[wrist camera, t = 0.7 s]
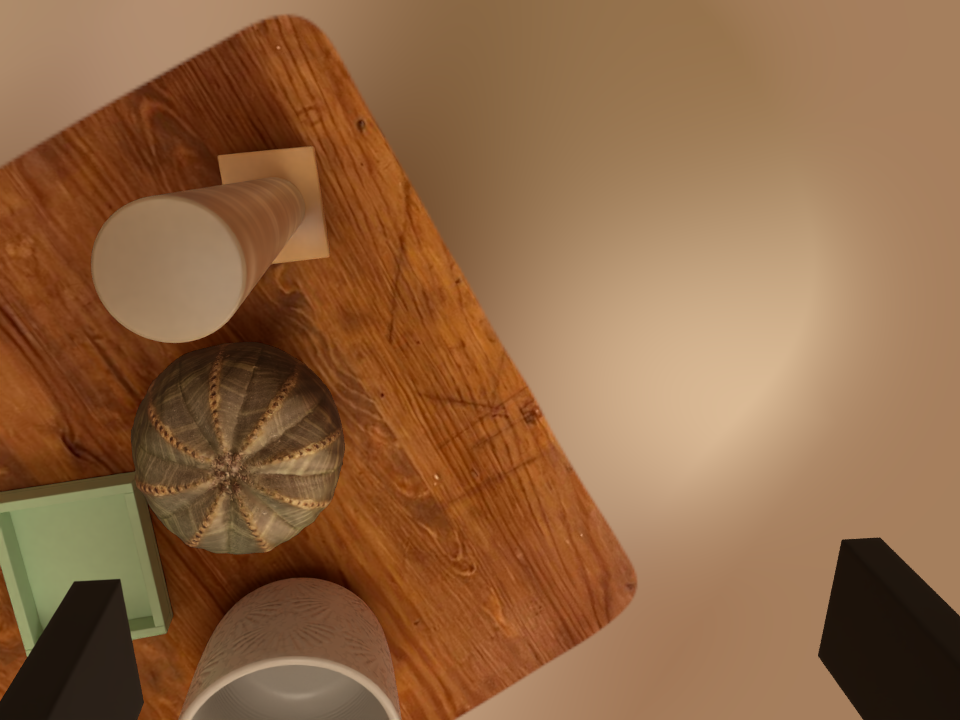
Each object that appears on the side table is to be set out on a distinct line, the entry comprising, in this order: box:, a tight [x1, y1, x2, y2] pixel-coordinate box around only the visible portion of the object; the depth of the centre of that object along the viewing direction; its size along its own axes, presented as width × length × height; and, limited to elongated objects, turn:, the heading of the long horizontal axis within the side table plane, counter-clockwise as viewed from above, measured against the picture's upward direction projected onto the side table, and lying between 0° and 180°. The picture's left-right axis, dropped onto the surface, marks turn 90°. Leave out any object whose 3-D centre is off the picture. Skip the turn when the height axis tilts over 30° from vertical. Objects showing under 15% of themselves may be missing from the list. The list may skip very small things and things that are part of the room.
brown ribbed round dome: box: [131, 342, 345, 554], centre depth 42 cm, size 11×11×12 cm
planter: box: [178, 578, 401, 720], centre depth 47 cm, size 12×12×11 cm
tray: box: [0, 472, 173, 657], centre depth 48 cm, size 10×8×2 cm
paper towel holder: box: [91, 146, 330, 343], centre depth 31 cm, size 6×5×30 cm
